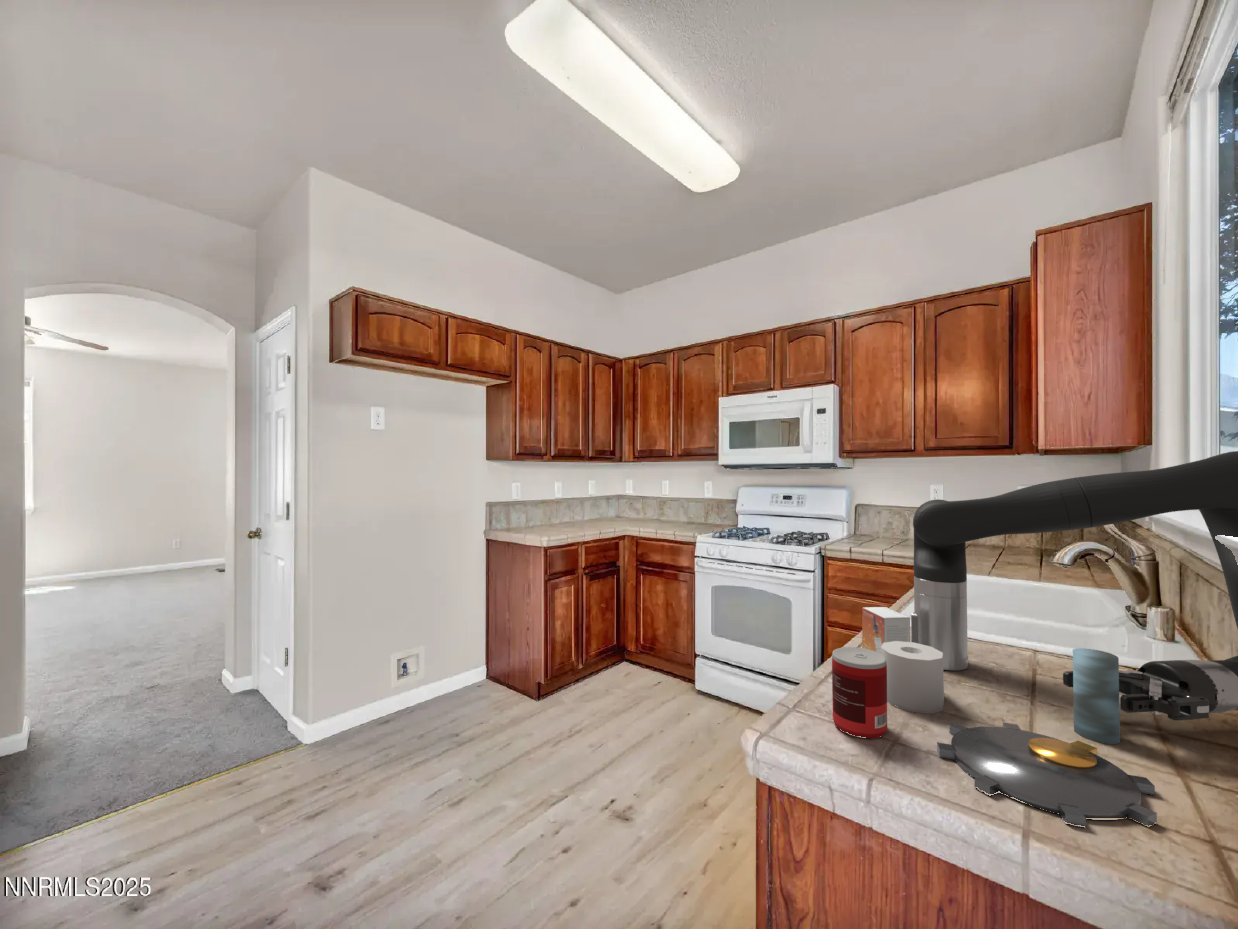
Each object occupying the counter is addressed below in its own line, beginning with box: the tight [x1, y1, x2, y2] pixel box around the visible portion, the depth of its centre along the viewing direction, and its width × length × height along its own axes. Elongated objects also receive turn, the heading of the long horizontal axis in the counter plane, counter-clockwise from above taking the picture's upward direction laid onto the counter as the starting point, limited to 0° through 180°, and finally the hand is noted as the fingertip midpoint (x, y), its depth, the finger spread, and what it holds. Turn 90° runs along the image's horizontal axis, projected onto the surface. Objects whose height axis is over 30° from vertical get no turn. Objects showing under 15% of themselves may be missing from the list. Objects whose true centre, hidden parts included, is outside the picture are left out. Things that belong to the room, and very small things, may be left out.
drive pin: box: [1072, 647, 1121, 745], centre depth 77 cm, size 5×5×12 cm
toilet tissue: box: [881, 641, 945, 714], centre depth 90 cm, size 9×13×9 cm
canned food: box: [831, 646, 888, 739], centre depth 79 cm, size 8×8×11 cm
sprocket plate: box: [936, 722, 1158, 827], centre depth 67 cm, size 21×22×2 cm
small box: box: [861, 606, 911, 654], centre depth 106 cm, size 8×6×10 cm
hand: (1092, 691), depth 77 cm, fingers open, 8 cm apart
